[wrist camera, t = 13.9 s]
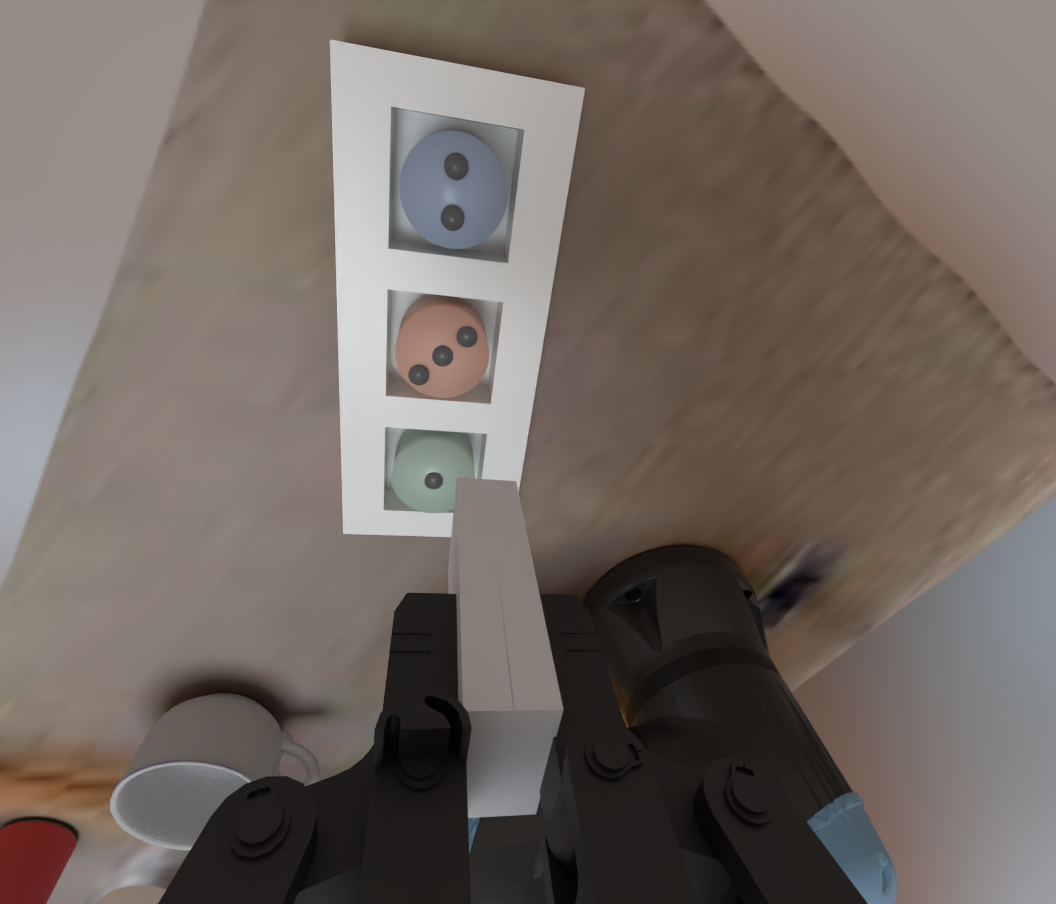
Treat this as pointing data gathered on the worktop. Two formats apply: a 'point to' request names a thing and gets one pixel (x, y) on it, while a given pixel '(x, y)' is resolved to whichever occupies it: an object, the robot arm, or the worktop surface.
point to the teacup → (200, 766)
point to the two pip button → (453, 189)
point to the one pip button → (431, 468)
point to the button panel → (439, 264)
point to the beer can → (32, 860)
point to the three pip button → (442, 346)
